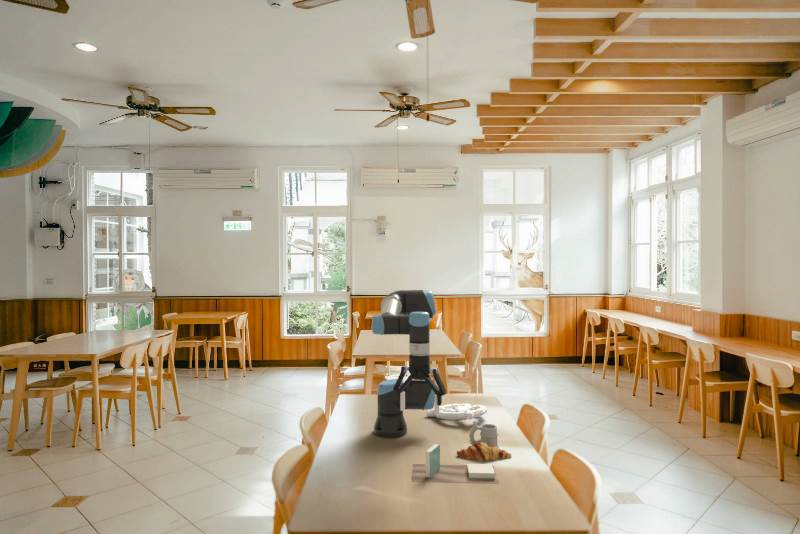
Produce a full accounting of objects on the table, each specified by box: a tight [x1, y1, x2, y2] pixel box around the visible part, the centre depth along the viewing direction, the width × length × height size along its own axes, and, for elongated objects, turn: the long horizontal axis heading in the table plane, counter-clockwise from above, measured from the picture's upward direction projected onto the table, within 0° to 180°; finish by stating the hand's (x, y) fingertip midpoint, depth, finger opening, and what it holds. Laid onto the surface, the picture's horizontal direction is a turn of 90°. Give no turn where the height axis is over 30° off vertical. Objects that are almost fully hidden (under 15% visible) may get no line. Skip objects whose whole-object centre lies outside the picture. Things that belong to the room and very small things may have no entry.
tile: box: [425, 443, 441, 478], centre depth 177 cm, size 8×2×9 cm, turn 152°
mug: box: [468, 420, 500, 449], centre depth 202 cm, size 8×12×12 cm, turn 84°
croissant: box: [456, 442, 513, 462], centre depth 193 cm, size 21×10×8 cm, turn 88°
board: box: [411, 463, 500, 485], centre depth 177 cm, size 15×30×1 cm, turn 87°
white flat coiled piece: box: [425, 402, 488, 420], centre depth 244 cm, size 28×24×6 cm
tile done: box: [466, 463, 496, 479], centre depth 177 cm, size 8×9×2 cm
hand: (419, 411), depth 182 cm, fingers open, 13 cm apart
